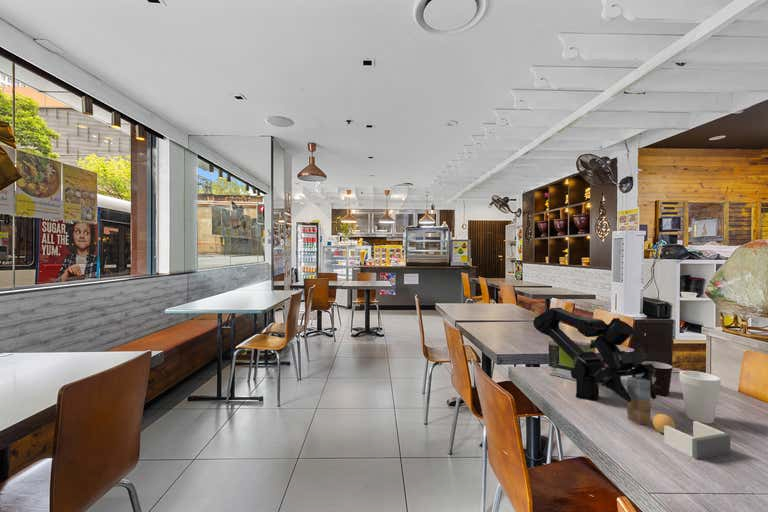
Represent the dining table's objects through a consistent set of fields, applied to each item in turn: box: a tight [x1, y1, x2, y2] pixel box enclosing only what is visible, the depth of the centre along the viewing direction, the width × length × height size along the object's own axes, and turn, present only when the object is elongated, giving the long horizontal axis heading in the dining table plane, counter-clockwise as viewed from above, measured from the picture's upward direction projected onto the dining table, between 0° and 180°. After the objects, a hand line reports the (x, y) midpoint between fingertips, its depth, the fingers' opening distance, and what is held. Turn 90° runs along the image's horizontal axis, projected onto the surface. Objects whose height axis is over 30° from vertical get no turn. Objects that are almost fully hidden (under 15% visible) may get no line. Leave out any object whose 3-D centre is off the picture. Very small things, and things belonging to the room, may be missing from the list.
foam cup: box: [679, 370, 722, 424], centre depth 111 cm, size 10×9×13 cm
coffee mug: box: [633, 361, 673, 397], centre depth 133 cm, size 12×9×10 cm
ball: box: [652, 413, 676, 434], centre depth 102 cm, size 5×5×5 cm
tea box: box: [547, 338, 596, 381], centre depth 151 cm, size 15×10×15 cm
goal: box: [663, 420, 731, 460], centre depth 94 cm, size 8×11×4 cm
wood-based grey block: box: [626, 376, 652, 426], centre depth 109 cm, size 4×4×12 cm
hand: (642, 399), depth 108 cm, fingers open, 9 cm apart
